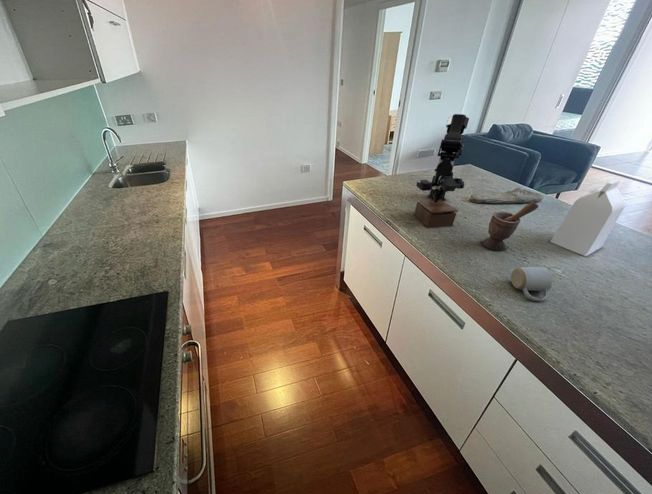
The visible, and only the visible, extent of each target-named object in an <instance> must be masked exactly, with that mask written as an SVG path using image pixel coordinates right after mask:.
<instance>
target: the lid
mask: <svg viewBox="0 0 652 494" xmlns="http://www.w3.org/2000/svg"><path fill="white" fill-rule="evenodd" d="M417 203H419V204H420V205H422V206H423V207H424V208H426V209H427V210H428V211H430V212H431V213H446V212H455V213H457V212H459V209H457V208H455V207H454V206H452V205H451V204H449V203H447V202H446V201H445V200H441V199H440V200H438V202H437V203H435V202H434V200H432V199H428V200H427V199H426V200H417V202H416V204H417Z"/></svg>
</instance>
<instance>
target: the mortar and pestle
mask: <svg viewBox="0 0 652 494" xmlns="http://www.w3.org/2000/svg"><path fill="white" fill-rule="evenodd" d="M538 208H539V204H538V203H537V202H531V203H527V204H526V205H525V206H523V207H522V208H521V209H520V210H518V211H517V212H516V213H511V212H507V211H494V212H493V213H492V216H491V218H490V220H489V223H488V230H487V232H488V235H489V237H486V238H485V239H483V241H482V245H483V246H484V247H485V248H487V249H488V250H492V251H499V252H501V251H504V250H505V248H506V243H505V242H504V241H505V240H508V239H509V238H510V237H511V236H512V235H513V234H514V232H516V230H517V229H518V227H519V224H520V223H521V218H523V217H524V216H526V215H528V214H530V213H532V212H534V211H536V210H537V209H538Z"/></svg>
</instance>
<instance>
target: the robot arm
mask: <svg viewBox="0 0 652 494" xmlns="http://www.w3.org/2000/svg"><path fill="white" fill-rule="evenodd" d="M469 121H470V118H469V117H468V116H467V114H464V113H463V114H461V113H454V114H452V115H451V116H448V118H447V121H446V124H445V128H447V129H446V134H445V135H444V137H443V139H441V141H440V145H439V148H438V152H437V157H439V160H438V163H437V165H436V168H434V172H435V174H434V175H433V176H432V179H431V181H430V180H428V179H419V180H417V182H416V185H415V186H416V187H417V188H418V189H419V190H420V191H423V192H426V191H427V192H428V191H429V194H428V195H427V197H428V198H430V200H434V202H435V203H437V202H438V200H440V199H441V200H442V201H446V200H447V199H446V198H445V196H446V193H448V192H455V190H456V189H458V190H460V189H464V187H465V181H463V179H462V178H458V177H454V172H453V170H454V165H455V161H456V159H459V158H460V156H462V153H463V150H464V146H465V144H464V141H463V140H462V139H463V134H464V132H465V130H466V129H467V128H468V125H469Z"/></svg>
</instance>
